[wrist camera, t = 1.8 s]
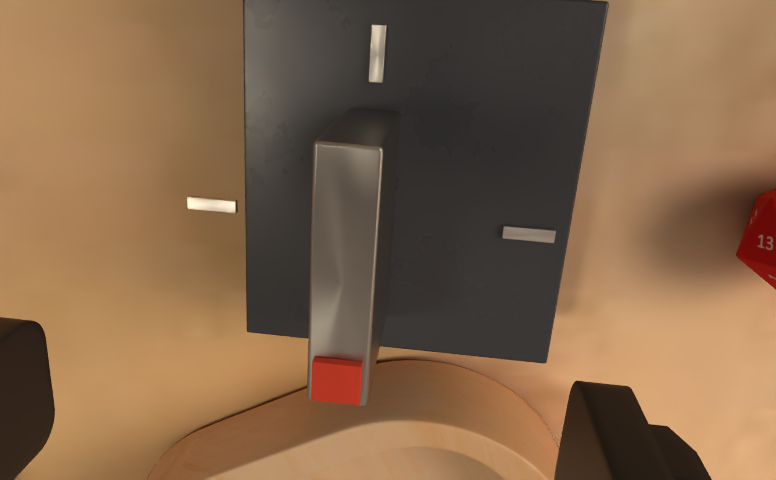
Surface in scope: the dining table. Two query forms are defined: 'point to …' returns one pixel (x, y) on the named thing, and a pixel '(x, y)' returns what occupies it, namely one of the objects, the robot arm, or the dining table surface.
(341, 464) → the lamp
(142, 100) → the dining table surface
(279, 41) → the dial block
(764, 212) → the die
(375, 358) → the grey rectangular plate
